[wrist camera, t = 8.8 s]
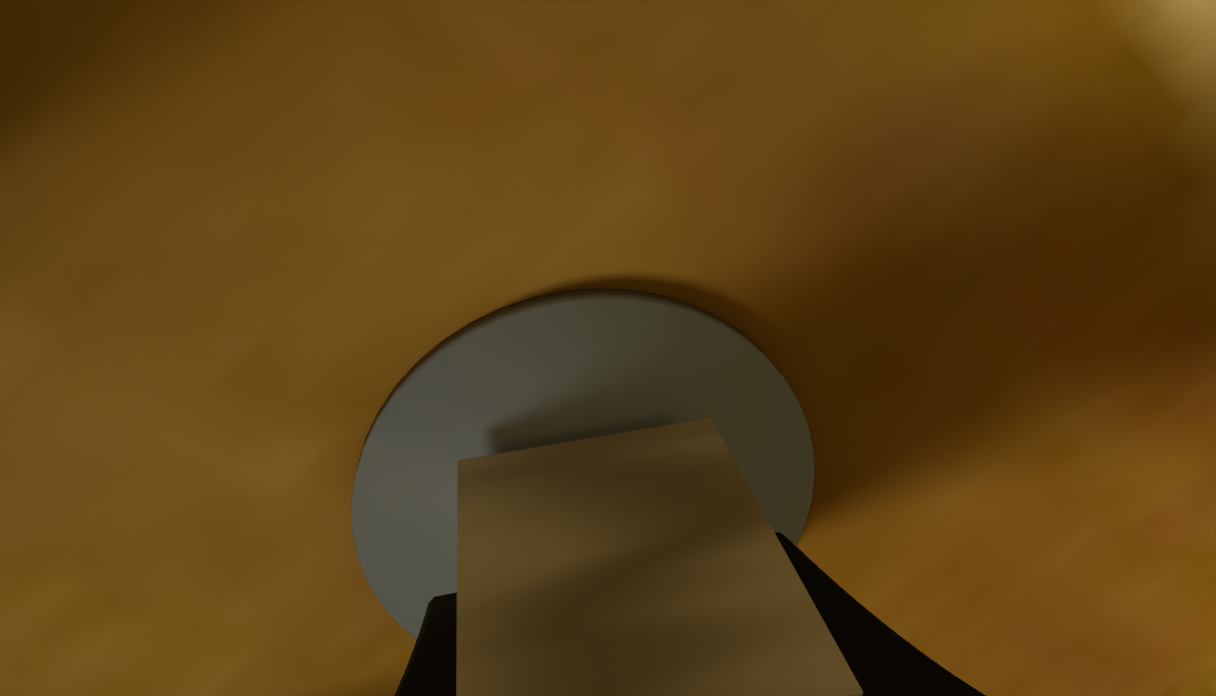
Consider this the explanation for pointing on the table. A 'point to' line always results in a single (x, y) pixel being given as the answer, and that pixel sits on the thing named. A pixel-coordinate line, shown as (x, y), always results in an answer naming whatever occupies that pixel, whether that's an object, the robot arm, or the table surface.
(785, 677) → the block
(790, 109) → the table surface
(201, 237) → the table surface
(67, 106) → the table surface
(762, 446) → the coaster
